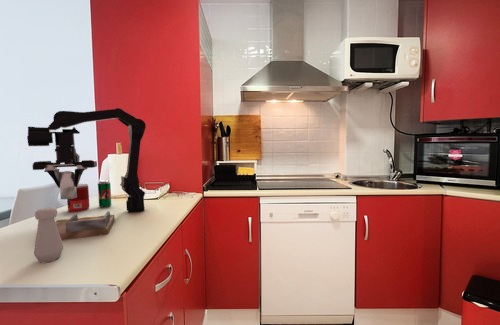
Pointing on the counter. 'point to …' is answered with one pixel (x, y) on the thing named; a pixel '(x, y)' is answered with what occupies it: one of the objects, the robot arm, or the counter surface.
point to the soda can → (104, 193)
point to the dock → (85, 226)
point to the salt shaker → (47, 236)
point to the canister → (67, 185)
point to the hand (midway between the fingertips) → (68, 187)
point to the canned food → (79, 199)
